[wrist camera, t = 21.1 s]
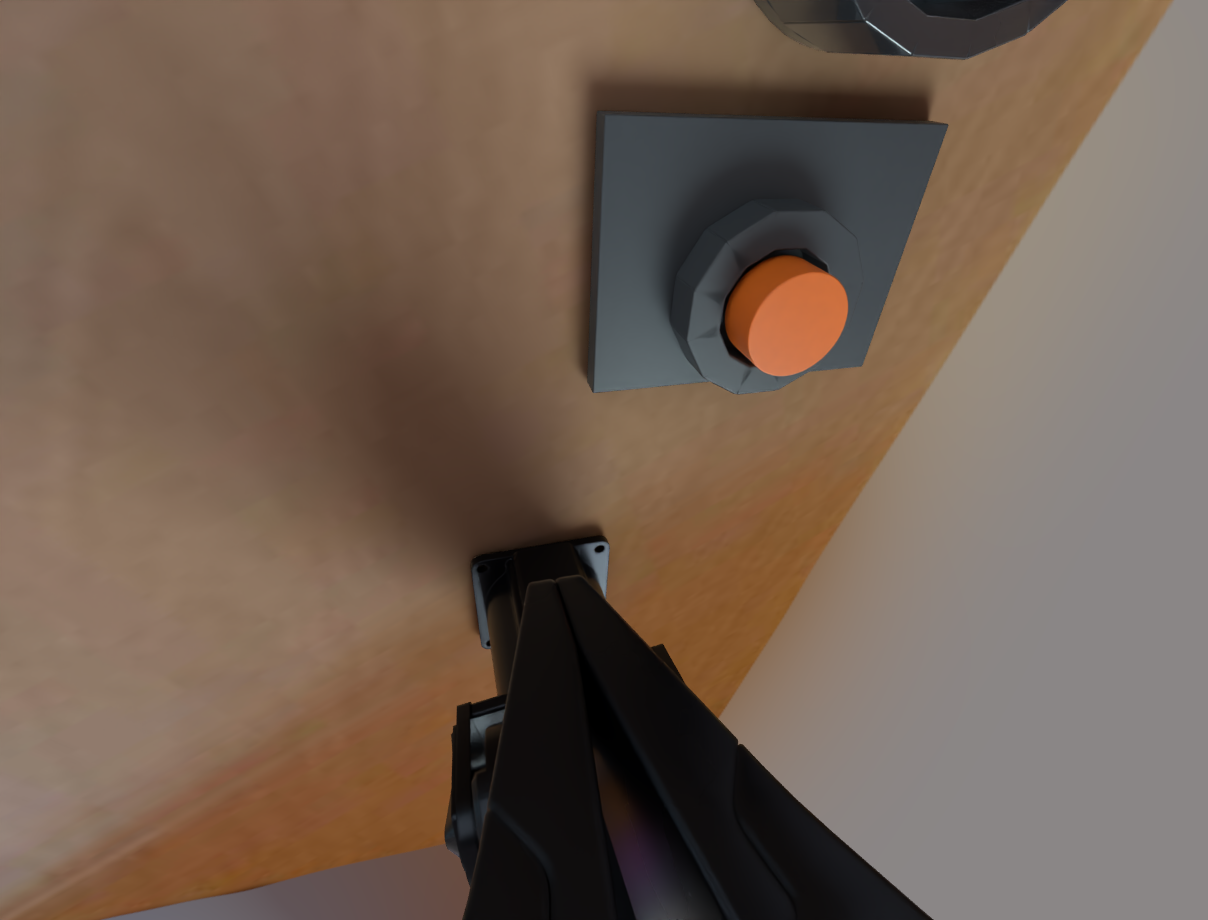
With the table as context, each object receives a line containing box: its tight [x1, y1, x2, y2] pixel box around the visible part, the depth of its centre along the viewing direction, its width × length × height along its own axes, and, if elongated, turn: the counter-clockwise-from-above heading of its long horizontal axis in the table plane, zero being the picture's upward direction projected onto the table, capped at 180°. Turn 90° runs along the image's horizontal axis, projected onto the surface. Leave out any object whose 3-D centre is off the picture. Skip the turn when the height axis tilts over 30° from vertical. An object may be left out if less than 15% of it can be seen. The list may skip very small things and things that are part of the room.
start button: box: [725, 255, 848, 376], centre depth 19 cm, size 4×4×2 cm
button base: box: [587, 111, 948, 394], centre depth 20 cm, size 9×12×2 cm
